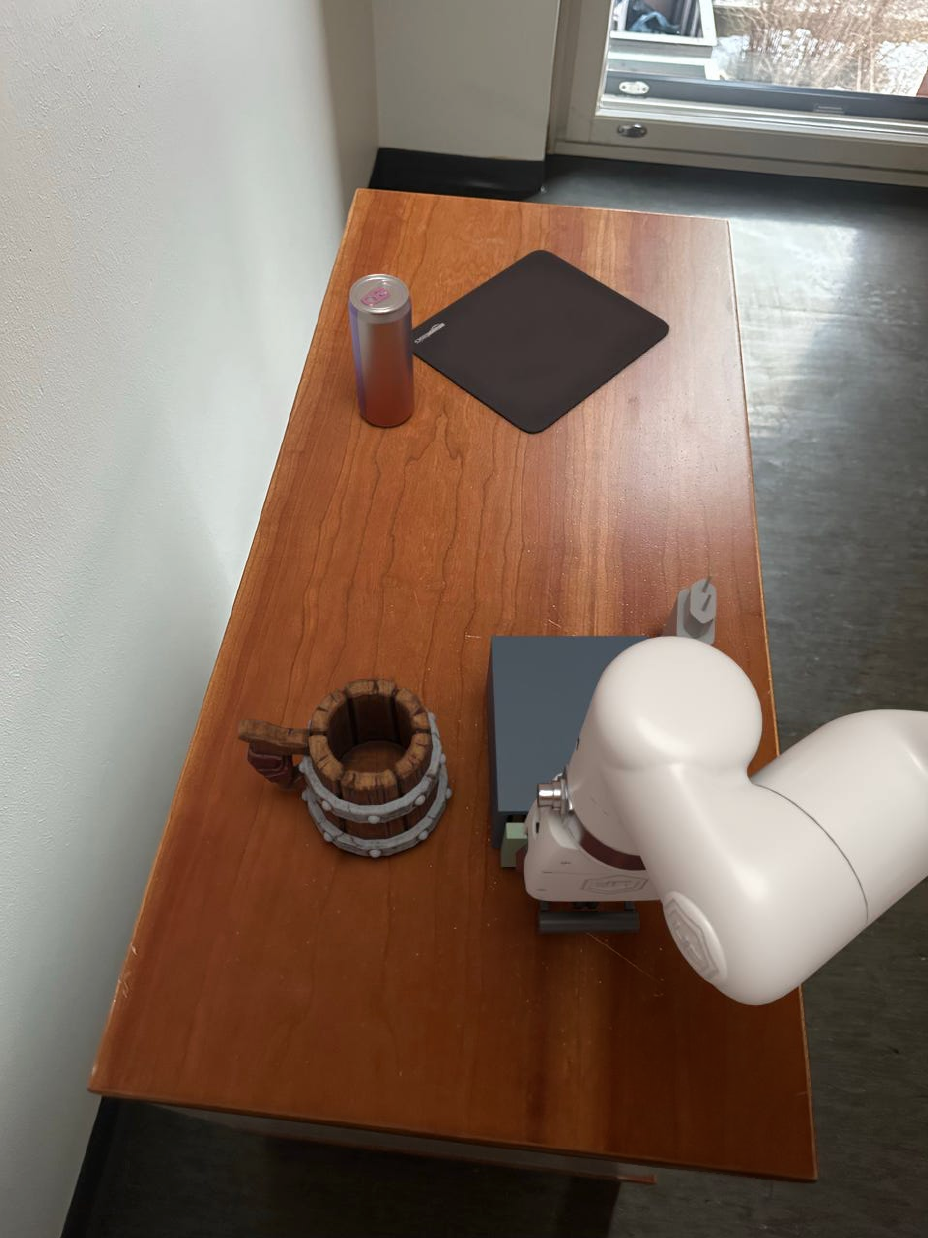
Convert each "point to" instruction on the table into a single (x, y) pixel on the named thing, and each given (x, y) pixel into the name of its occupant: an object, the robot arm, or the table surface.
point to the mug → (360, 766)
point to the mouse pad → (536, 339)
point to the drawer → (566, 919)
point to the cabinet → (538, 712)
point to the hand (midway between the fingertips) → (582, 888)
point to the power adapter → (694, 613)
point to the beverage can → (382, 348)
